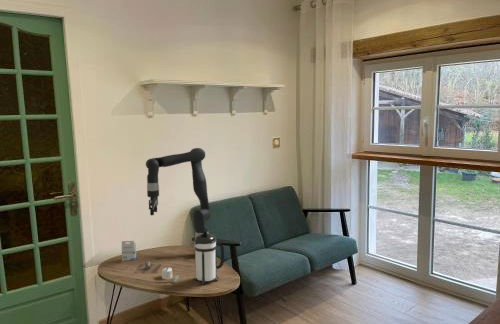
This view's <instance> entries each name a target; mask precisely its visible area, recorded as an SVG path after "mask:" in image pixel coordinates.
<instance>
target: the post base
mask: <svg viewBox="0 0 500 324" xmlns="http://www.w3.org/2000/svg"><path fill="white" fill-rule="evenodd" d="M144 263H145V264H144ZM144 263H143V264H139V265H138V267H137V268H136V269H135V270H134V272H133V274H157V273H158V271H159V270H160V267H161V266H162V263H156V264H151V261H145V262H144Z"/></svg>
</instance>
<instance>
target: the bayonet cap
mask: <svg viewBox="0 0 500 324" xmlns="http://www.w3.org/2000/svg"><path fill="white" fill-rule="evenodd" d="M172 268H173V267H164V268H162V269H161V278H162V279H163V280H169V279H170V280H171V279H172V278H173V269H172Z"/></svg>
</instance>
